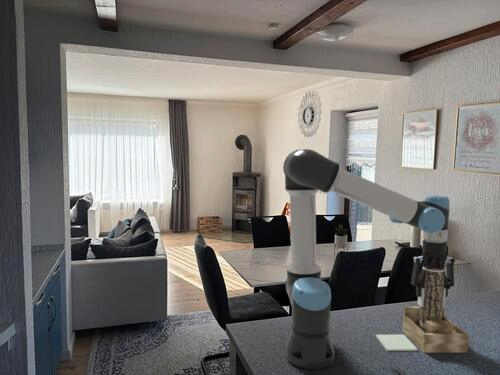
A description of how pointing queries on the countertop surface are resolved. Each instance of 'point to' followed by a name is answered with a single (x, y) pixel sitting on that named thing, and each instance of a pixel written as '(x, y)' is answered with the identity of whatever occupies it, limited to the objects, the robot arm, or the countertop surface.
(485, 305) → the countertop surface
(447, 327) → the offcut stack
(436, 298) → the wooden log
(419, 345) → the wooden open box
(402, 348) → the felt mat
